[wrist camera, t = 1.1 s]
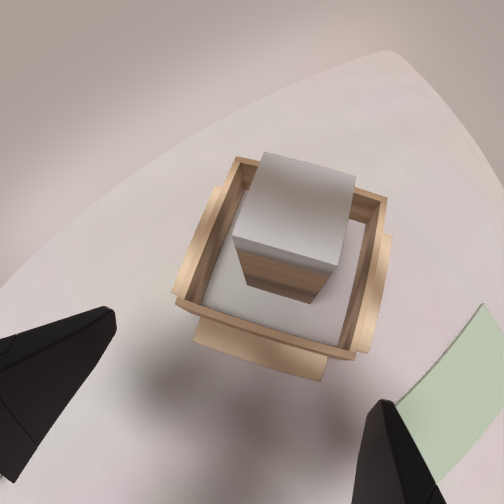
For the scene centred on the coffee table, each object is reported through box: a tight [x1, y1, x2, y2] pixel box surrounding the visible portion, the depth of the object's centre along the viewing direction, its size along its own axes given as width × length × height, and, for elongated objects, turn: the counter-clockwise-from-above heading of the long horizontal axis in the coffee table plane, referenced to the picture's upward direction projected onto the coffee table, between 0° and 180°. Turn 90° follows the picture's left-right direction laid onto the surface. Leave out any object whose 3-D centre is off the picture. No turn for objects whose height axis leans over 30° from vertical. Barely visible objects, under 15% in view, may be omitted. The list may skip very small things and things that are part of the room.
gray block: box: [232, 152, 356, 304], centre depth 19 cm, size 5×5×10 cm
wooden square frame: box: [171, 156, 392, 382], centre depth 22 cm, size 16×16×4 cm
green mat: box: [395, 303, 504, 484], centre depth 18 cm, size 14×10×1 cm
